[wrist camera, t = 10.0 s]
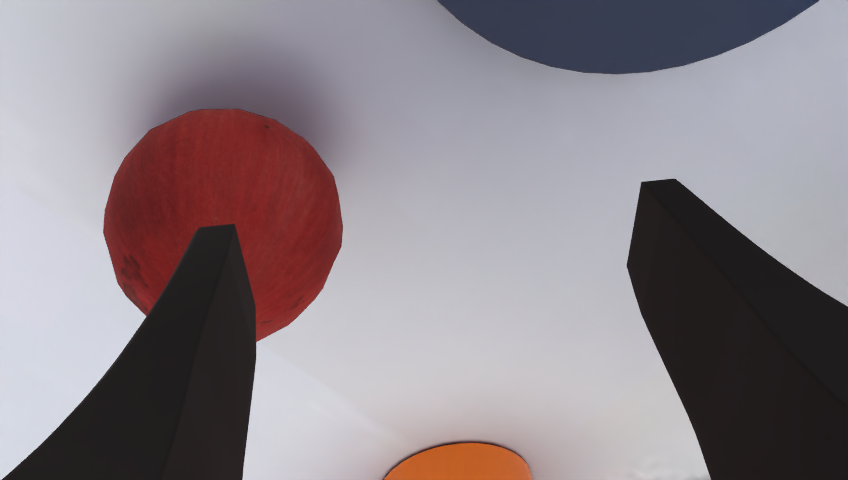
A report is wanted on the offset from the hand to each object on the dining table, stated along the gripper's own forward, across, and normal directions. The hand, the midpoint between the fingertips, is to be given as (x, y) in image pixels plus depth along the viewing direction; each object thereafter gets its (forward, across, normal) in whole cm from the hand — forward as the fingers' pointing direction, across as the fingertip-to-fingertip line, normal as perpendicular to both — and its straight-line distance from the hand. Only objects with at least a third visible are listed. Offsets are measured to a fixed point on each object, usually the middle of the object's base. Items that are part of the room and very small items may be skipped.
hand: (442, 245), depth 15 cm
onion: (+10, +5, +4) cm, 11 cm away
